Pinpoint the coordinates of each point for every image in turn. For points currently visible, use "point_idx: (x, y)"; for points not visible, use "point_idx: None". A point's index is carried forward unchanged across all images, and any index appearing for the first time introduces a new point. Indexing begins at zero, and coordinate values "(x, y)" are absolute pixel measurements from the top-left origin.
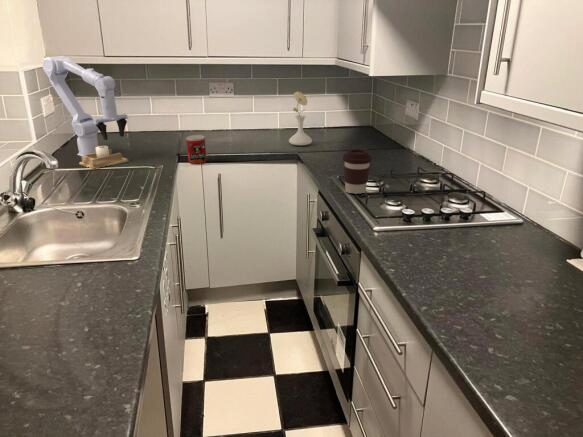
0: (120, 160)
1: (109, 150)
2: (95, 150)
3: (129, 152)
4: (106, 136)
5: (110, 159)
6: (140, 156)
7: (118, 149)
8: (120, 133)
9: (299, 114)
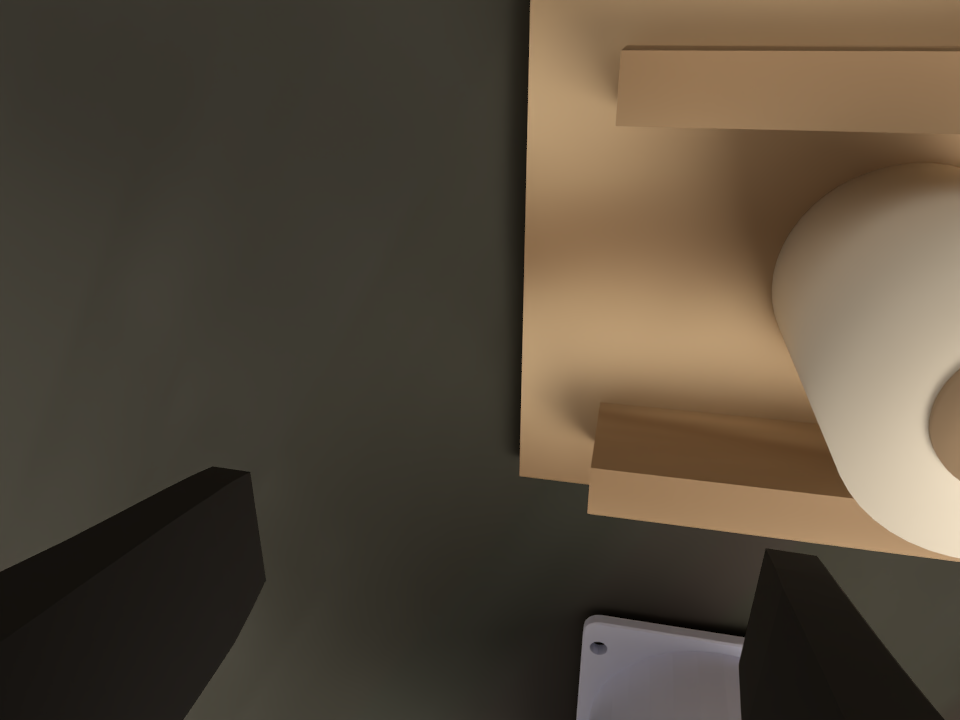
0: (680, 32)
1: (634, 471)
2: (706, 715)
3: (265, 434)
4: (829, 627)
5: (942, 47)
6: (227, 97)
7: (312, 646)
8: (212, 604)
9: None
